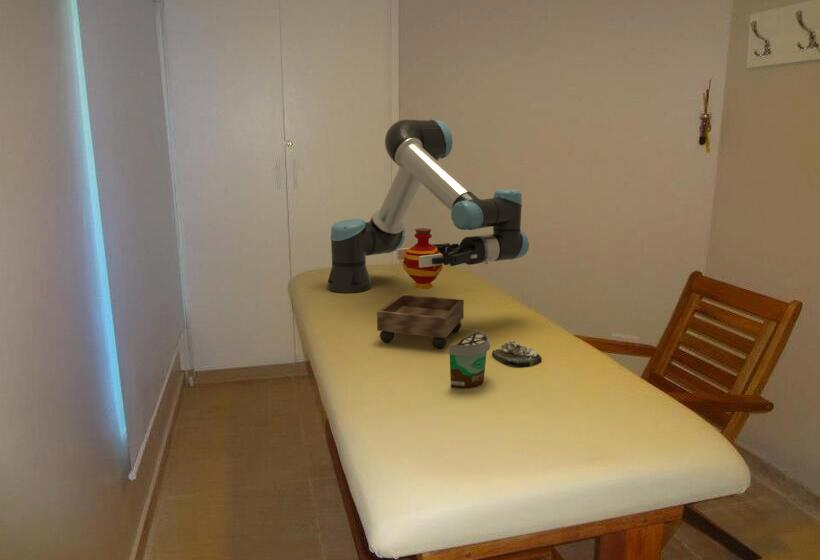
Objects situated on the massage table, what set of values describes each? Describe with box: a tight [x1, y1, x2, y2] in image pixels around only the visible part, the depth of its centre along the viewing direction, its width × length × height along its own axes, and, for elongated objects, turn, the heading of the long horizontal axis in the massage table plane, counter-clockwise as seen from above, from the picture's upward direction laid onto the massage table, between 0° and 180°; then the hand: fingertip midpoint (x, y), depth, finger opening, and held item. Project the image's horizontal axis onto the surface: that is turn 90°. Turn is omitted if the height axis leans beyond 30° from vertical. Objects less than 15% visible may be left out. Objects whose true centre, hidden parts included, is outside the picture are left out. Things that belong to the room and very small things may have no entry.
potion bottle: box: [401, 227, 444, 290], centre depth 154 cm, size 10×10×15 cm
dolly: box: [376, 293, 465, 350], centre depth 158 cm, size 18×18×9 cm
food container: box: [447, 329, 491, 390], centre depth 129 cm, size 12×6×10 cm, turn 148°
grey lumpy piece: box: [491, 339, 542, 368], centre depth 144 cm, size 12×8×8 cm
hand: (408, 258), depth 152 cm, fingers closed on potion bottle, 10 cm apart
